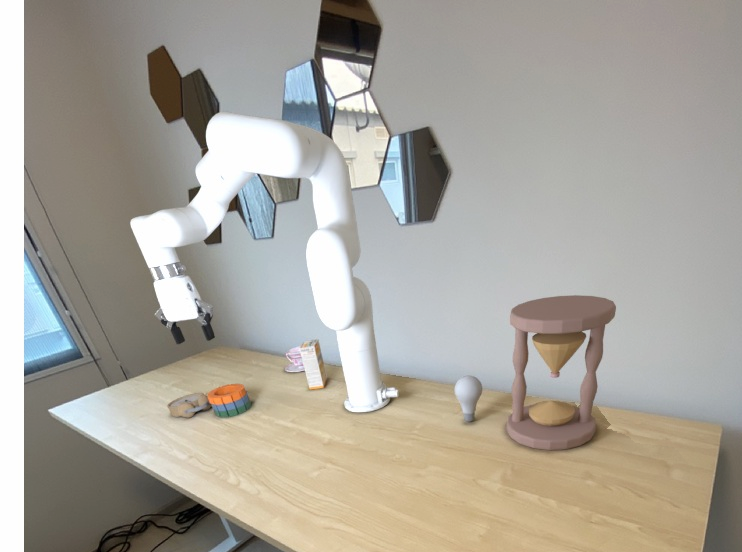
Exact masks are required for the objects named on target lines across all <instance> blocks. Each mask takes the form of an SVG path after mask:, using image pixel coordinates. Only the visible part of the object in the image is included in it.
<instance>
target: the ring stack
mask: <svg viewBox="0 0 742 552" xmlns="http://www.w3.org/2000/svg"><path fill="white" fill-rule="evenodd" d="M227 394H230V393H227ZM224 395H226V394H224ZM211 407H212V409H213V412H214V414H215V416H216V417H218V418H231V417H235V416H238V415H241V414H243V413H246V412H247V411H249V409H251V408H252V402H251V399H250V396H249V394H248V391H247V390H246V395H245V396H244V397H242V398H241V399H239V400H237V401H233V402H231V403H227V404H222V405H216V404H215V405H214V404H211Z"/></svg>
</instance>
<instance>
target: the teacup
mask: <svg viewBox="0 0 742 552" xmlns="http://www.w3.org/2000/svg"><path fill="white" fill-rule="evenodd" d="M301 346H302V345H300V346H294V347H291V348H289V349H287V350H286V351H285V357H286V358H287V359H288V360H289V362H291V363H289V364H287V365H286V366H285V367H284V371H286V372H287V373H300V372H305V368H304V365H303V361H302V357H301V353H300V347H301Z"/></svg>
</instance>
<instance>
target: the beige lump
mask: <svg viewBox="0 0 742 552" xmlns="http://www.w3.org/2000/svg"><path fill="white" fill-rule="evenodd" d="M166 405H167V408H168V410H169V412H170V415H171V416H172V417H175V418H177V417H182V418H185V419H186V418H187V419H189V418H192V417H193V416H194V415H195V414H196V412H199V411H201V410H202V411H207V410H210V409H211V407H212V405H211V403H210V402H209V399H208V397H207V394H205V393H204V392H195V393H190V394H187V395H186V394H185V395H184V396H180V397H178V398H176V399H174V400H172V401H170V402H169V403H168V404H166Z"/></svg>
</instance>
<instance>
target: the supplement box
mask: <svg viewBox="0 0 742 552" xmlns="http://www.w3.org/2000/svg"><path fill="white" fill-rule="evenodd" d="M300 346H301V347H300V353H301V357H302V361H303V365H304V368H305V371H304V373H305V376H306V381H307V385H308V388H309V390H319V389H324V388H325V385H326V383H327V380H328V376H327V372H326V367H325V362H324V358H323V354H322V350H321V345H320V341H319V338H316V339H309V340H304V341H303V342H302V344H301V345H300Z"/></svg>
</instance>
